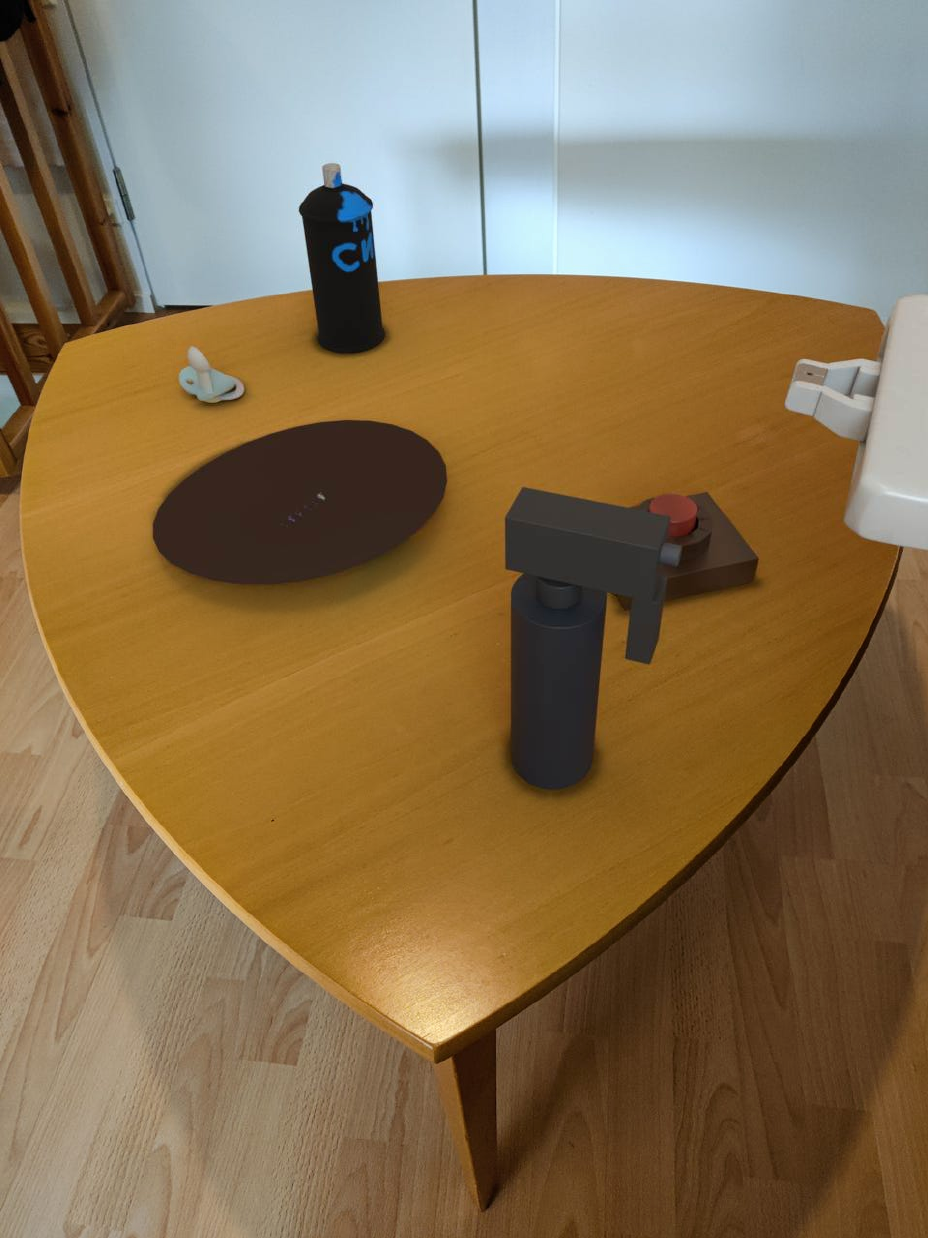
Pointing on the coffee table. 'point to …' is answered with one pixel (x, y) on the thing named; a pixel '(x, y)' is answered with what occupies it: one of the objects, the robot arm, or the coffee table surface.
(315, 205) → the aerosol can
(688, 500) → the button
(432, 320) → the coffee table surface
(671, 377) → the coffee table surface
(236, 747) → the coffee table surface
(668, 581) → the button block
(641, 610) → the block
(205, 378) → the pacifier
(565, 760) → the spray bottle
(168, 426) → the coffee table surface
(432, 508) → the plate
